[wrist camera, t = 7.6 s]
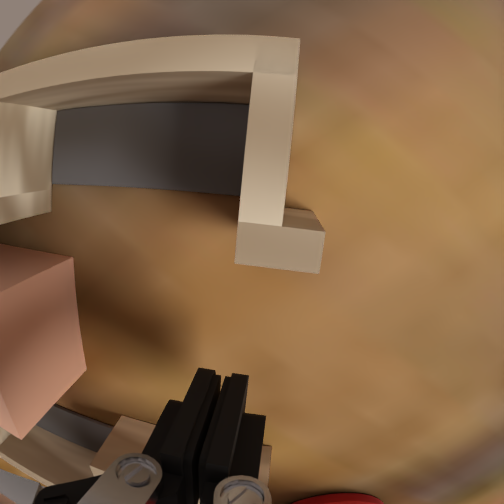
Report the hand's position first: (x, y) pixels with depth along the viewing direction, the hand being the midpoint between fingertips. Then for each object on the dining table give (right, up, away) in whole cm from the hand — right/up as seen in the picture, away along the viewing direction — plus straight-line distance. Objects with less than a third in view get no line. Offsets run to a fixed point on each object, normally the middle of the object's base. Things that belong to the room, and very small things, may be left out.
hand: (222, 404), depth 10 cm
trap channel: (-7, +2, +3) cm, 8 cm away
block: (-11, +3, +4) cm, 12 cm away
